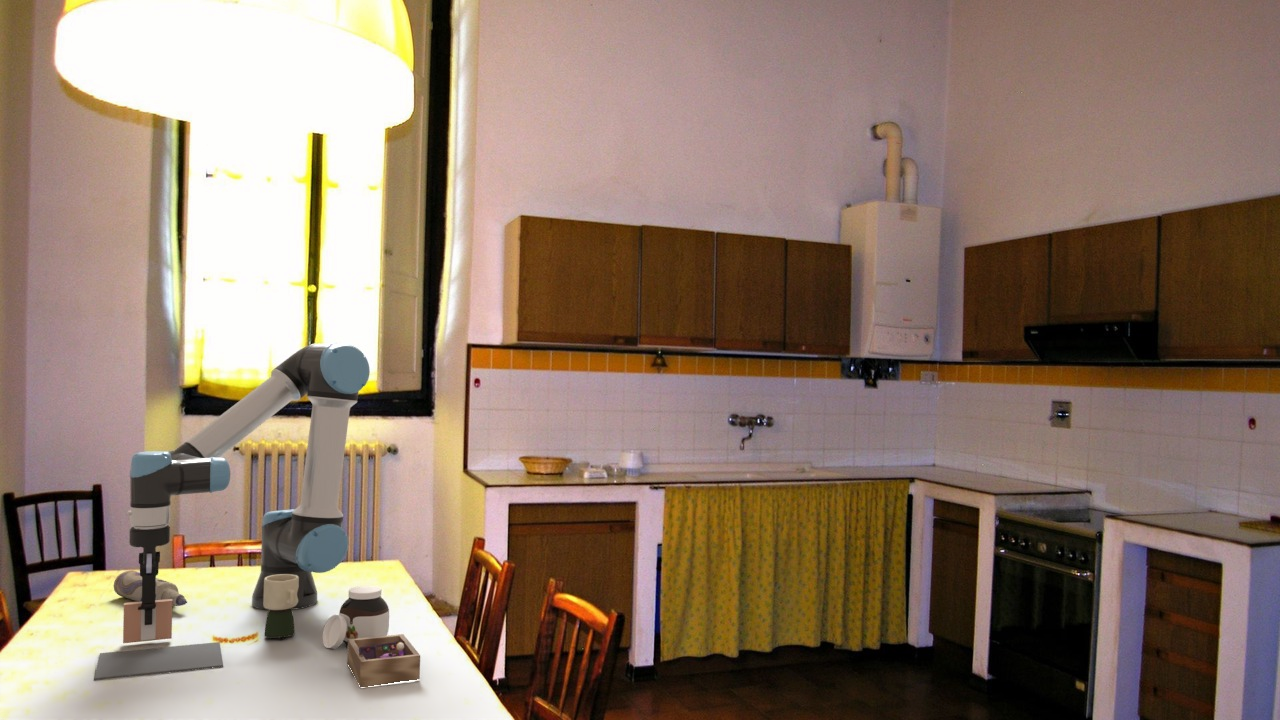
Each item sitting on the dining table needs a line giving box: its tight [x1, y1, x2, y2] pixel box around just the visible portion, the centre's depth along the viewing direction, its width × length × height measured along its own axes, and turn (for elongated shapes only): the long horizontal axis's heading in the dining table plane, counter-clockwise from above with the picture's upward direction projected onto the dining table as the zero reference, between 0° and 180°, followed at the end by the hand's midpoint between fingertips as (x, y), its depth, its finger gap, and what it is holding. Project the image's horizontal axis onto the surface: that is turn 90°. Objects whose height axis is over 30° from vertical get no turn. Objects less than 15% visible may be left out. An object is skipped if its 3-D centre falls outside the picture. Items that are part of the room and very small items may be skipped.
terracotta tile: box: [122, 599, 173, 644], centre depth 197 cm, size 9×2×8 cm, turn 116°
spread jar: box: [322, 585, 390, 649], centre depth 201 cm, size 12×11×12 cm
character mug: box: [263, 574, 299, 639], centre depth 205 cm, size 11×7×13 cm, turn 49°
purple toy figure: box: [359, 641, 406, 660], centre depth 183 cm, size 7×5×9 cm
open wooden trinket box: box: [346, 633, 421, 688], centre depth 184 cm, size 11×15×5 cm
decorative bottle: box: [113, 570, 188, 607], centre depth 227 cm, size 26×8×7 cm, turn 55°
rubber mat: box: [93, 641, 224, 681], centre depth 187 cm, size 22×16×1 cm
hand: (148, 637), depth 197 cm, fingers closed on terracotta tile, 2 cm apart
